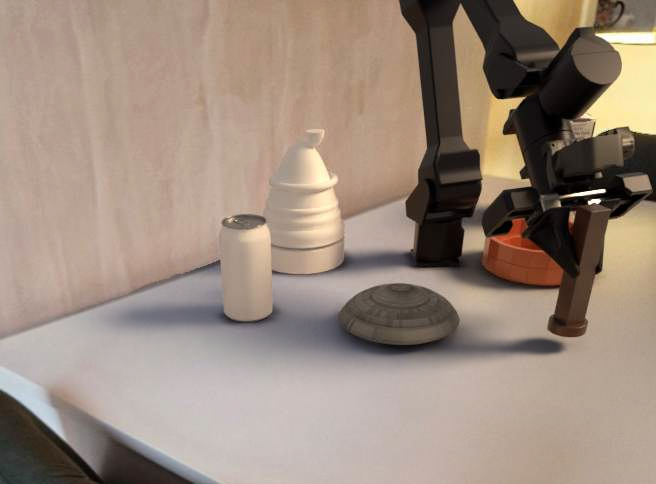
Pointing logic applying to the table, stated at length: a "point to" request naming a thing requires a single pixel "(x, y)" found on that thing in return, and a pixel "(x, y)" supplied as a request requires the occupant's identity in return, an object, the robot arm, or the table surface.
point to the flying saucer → (399, 315)
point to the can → (246, 267)
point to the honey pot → (304, 212)
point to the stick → (578, 290)
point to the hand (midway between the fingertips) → (587, 275)
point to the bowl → (520, 258)
